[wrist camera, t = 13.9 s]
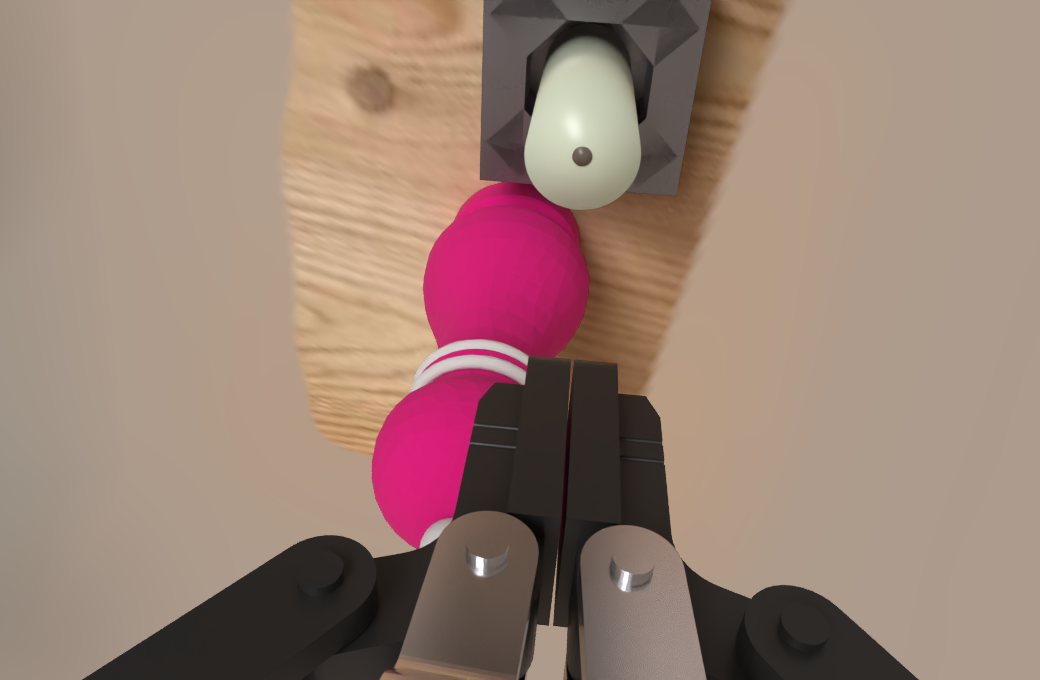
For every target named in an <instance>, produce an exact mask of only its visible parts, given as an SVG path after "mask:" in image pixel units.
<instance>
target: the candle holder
mask: <svg viewBox="0 0 1040 680" xmlns="http://www.w3.org/2000/svg"><path fill="white" fill-rule="evenodd" d="M710 6H711V0H484V14H483V60H482V105H481V151H480V180H489V181H501V182H513V183H525V184H533V183H532V181H531V180H530V177H529V175H528V173H527V169H526V166H525V159H524V151H525V143H526V139H527V135H528V131H529V127H530V123H531V119H532V114H533V110H534V106H535V102H536V98H537V94H538V90H539V86H540V82H541V77H542V73H543V69H544V65H545V61H546V57H547V54H548V51H549V49H550V47H551V45H552V43H553V42H554V41H555V39H556V38H557V37H558V36H559V35H560V34H561V33H563V32H564V31H566V30H567V29H569V28H571V27H573V26H576V25H580V24H586V23H592V24H598V25H602V26H605V27H607V28H609V29H610V30H612V31H614V32H615V33H616V34H617V35H618V36H619V37H620V38H621V39H622V41H623V42H624V44H625V45H626V47H627V50H628V53H629V56H630V62H631V70H632V78H633V87H634V95H635V103H636V112H637V120H638V128H639V137H640V145H641V161H640V166H639V169H638V172H637V175H636V177H635V179H634V181H633V182H632V184H631V185H630V187H629V188H628V189H627V190H626V191H625V192H633V193H645V194H657V195H669V196H677V190H678V184H679V179H680V173H681V168H682V162H683V156H684V151H685V145H686V140H687V134H688V129H689V123H690V117H691V112H692V106H693V101H694V95H695V89H696V84H697V78H698V73H699V67H700V62H701V56H702V50H703V45H704V39H705V34H706V28H707V23H708V17H709V11H710Z"/></svg>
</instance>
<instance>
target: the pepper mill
mask: <svg viewBox="0 0 1040 680" xmlns="http://www.w3.org/2000/svg"><path fill="white" fill-rule="evenodd" d="M423 292H424V302H425V310H426V314H427V318H428V322H429V324H430V326H431V329H432V331H433V334H434V336H435V339H436V342H437V345H438V350H436V351H435V352H433V353H432V354H431V355H430V356H429V357H428V358H427V359H426V360H425V361H424V362H423V363H422V364H421V366H420V367H419V369H418V370H417V372H416V375H415V378H414V381H413V385H412V387H411V389H410V392H409V394H408V395H407V396H406V397H405V398H404V399H403V400H401V401H400V402H399V403H398V404H397V405H396V406H395V407H394V409H393V410H392V411H391V412H390V414H389V415H388V416H387V418H386V420H385V422H384V424H383V426H382V428H381V430H380V432H379V434H378V436H377V439H376V444H375V449H374V454H373V459H372V483H373V488H374V494H375V499H376V501H377V503H378V505H379V508H380V510H381V511H382V514H383V516H384V518H385V520H386V521H387V522H388V524H389V525H390V526H391V527H392V529H393V530H394V531H395V533H397V534H398V535H399V536H400V537H401V538H402V539H404V540H405V541H406V542H407V543H408V544H409V545H411V546H413V547H415V548H416V549H419V548H422V547H424V546H426V545H427V544H429V543H431V542H432V541H434V540H435V539H437V538H438V537H439V536H440V534H441V533H442V531H443V530H444V528H445V527H446V526H447V525H449V524H450V522H451V521H452V519H453V516H454V512H455V508H456V503H457V499H458V494H459V490H460V485H461V480H462V476H463V471H464V466H465V462H466V457H467V452H468V448H469V445H470V438H471V434H472V429H473V427H474V420H475V415H476V411H477V406H478V401H479V400H480V398H481V397H482V396H483V395H484V394H485V393H486V392H487V391H488V390H489V388H490V387H491V386H492V385H493V384H494V383H495V382H499V383H510V384H520V385H525V379H526V371H527V364H528V358H529V356H538V357H549V358H554V357H555V356H556V355H557V354H558V353H559V352H560V351H561V350H562V349H563V348H564V347H565V346H566V344H567V343H568V342H569V341H570V339H571V338H572V336H573V335H574V333H575V332H576V330H577V329H578V327H579V324H580V322H581V320H582V318H583V316H584V312H585V308H586V304H587V299H588V293H589V274H588V270H587V265H586V261H585V258H584V256H583V254H582V252H581V250H580V235H579V230H578V227H577V224H576V221H575V219H574V217H573V215H572V213H571V212H570V211H569V209H568V208H565V207H562V206H559V205H557V204H555V203H553V202H551V201H550V200H548V199H547V198H545V197H544V196H543V195H542V194H541V193H540V192H539V191H538V190H537V189H536V187H535V186H534V185H532V184H525V183H513V182H503V183H498V184H494V185H491V186H488V187H485V188H483V189H481V190H479V191H478V192H476V193H475V194H474V195H472V196H471V197H470V198H469V199H468V200H467V201H466V202H465V203H464V204H463V205H462V207H461V208H460V210H459V212H458V214H457V216H456V218H455V220H454V222H453V223H452V224H451V225H450V226H449V227H448V228H446V229H445V230H444V231H443V232H442V234H441V235H440V236H439V238H438V239H437V241H436V242H435V244H434V246H433V248H432V250H431V252H430V254H429V258H428V262H427V266H426V270H425V275H424V283H423Z"/></svg>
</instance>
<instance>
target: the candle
mask: <svg viewBox="0 0 1040 680" xmlns="http://www.w3.org/2000/svg"><path fill="white" fill-rule="evenodd" d="M524 159H525V166H526V169H527V173H528V175H529V177H530V180H531V181H532V183H533V185H534V186H535V187H536V189H537V190H538V191H539V192H540V193H541V194H542V195H543V196H544V197H545V198H547V199H548V200H550V201H551V202H553V203H555V204H557V205H559V206H562V207H565V208H569V209H575V210H589V209H595V208H599V207H602V206H605V205H607V204H609V203H611V202H613V201H614V200H616V199H617V198H619V197H620V196H621V195H622V194H623V193H624V192H625V191H626V190H627V189H628V188H629V187H630V185H631V184H632V182H633V181H634V179H635V177H636V175H637V172H638V169H639V166H640V161H641V145H640V137H639V128H638V120H637V112H636V103H635V95H634V87H633V78H632V70H631V62H630V56H629V53H628V50H627V47H626V45H625V44H624V42H623V41H622V39H621V38H620V37H619V36H618V35H617V34H616V33H615V32H614V31H612V30H610V29H609V28H607V27H605V26H602V25H598V24H592V23H586V24H580V25H576V26H573V27H571V28H569V29H567V30H566V31H564V32H563V33H561V34H560V35H559V36H558V37H557V38H556V39H555V41H554V42H553V43H552V45H551V47H550V49H549V51H548V54H547V57H546V61H545V65H544V69H543V73H542V77H541V82H540V86H539V90H538V94H537V98H536V102H535V106H534V110H533V114H532V119H531V123H530V127H529V131H528V135H527V139H526V143H525V151H524Z"/></svg>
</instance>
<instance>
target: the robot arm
mask: <svg viewBox="0 0 1040 680" xmlns="http://www.w3.org/2000/svg"><path fill="white" fill-rule="evenodd" d="M570 366H571V360H570V359H559V358H549V357H538V356H529V358H528V364H527V371H526V379H525V385H520V384H510V383H499V382H495V383H494V384H493V385H492V386H491V387H490V388H489V390H488V391H487V392H486V393H485V394H484V395H483V396H482V397H481V398H480V400H479V401H478V406H477V411H476V415H475V420H474V427H473V429H472V434H471V438H470V445H469V448H468V452H467V457H466V462H465V466H464V471H463V476H462V480H461V485H460V490H459V494H458V499H457V503H456V508H455V512H454V516H453V519H452V521H451V522H450V524H449V525H447V526H446V527H445V528H444V530H443V531H442V533H441V534H440V536H439V537H438V538H437V539H435V540H434V541H432V542H431V543H429V544H427V545H426V546H424V547H422V548H419V549H416V550H414V551H410V552H406V553H402V554H396V555H390V556H384V557H378V558H373V557H372V555H371V554H370V552H369V551H368V550H367V549H366V548H365V547H364V546H363V545H361V544H360V543H358V542H356V541H354V540H352V539H349V538H346V537H342V536H334V535H325V536H317V537H313V538H309V539H306V540H304V541H301V542H299V543H297V544H295V545H293V546H291V547H290V548H288V549H287V550H285V551H283V552H282V553H280V554H279V555H277V556H275V557H274V558H272V559H271V560H269V561H268V562H266V563H265V564H263V565H261V566H260V567H258V568H257V569H255V570H254V571H252V572H250V573H249V574H247V575H246V576H244V577H243V578H241V579H239V580H238V581H236V582H235V583H233V584H232V585H230V586H229V587H227V588H225V589H224V590H222V591H221V592H219V593H217V594H216V595H214V596H213V597H212V598H210V599H208V600H207V601H205V602H203V603H202V604H200V605H199V606H197V607H195V608H194V609H192V610H191V611H189V612H188V613H186V614H184V615H183V616H181V617H180V618H178V619H177V620H175V621H174V622H172V623H170V624H169V625H167V626H166V627H164V628H163V629H161V630H160V631H158V632H156V633H155V634H153V635H152V636H150V637H149V638H147V639H146V640H144V641H142V642H141V643H139V644H137V645H136V646H134V647H133V648H131V649H130V650H128V651H126V652H125V653H123V654H122V655H120V656H119V657H117V658H115V659H114V660H113V661H111V662H109V663H108V664H106V665H104V666H103V667H102V668H100V669H98V670H97V671H95V672H94V673H92V674H91V675H89V676H87V677H86V678H84V679H83V680H526V678H527V670H528V669H529V667H530V665H531V662H532V660H533V655H534V646H535V637H536V627H537V624H539V625H548V626H549V618H550V610H551V602H552V592H553V585H554V576H555V568H556V559H557V573H556V590H555V606H554V622H553V626H560V627H568V631H567V654H566V661H565V669H564V676H563V680H918V679H917V678H916V677H915V676H914V675H913V674H912V673H911V672H909V671H908V670H907V669H906V668H905V667H904V666H903V665H902V664H900V663H899V662H898V661H897V660H896V659H895V658H894V657H893V656H891V655H890V654H889V653H888V652H887V651H886V650H885V649H884V648H883V647H882V646H880V645H879V644H878V643H877V642H876V641H875V640H874V639H872V638H871V637H870V636H869V635H868V634H867V633H866V632H865V631H864V630H862V629H861V628H860V627H859V626H858V625H857V624H856V623H855V622H854V621H852V620H851V619H850V618H849V617H848V616H847V615H846V614H844V613H843V612H842V611H841V610H840V609H839V608H838V607H837V606H835V605H834V604H833V603H831V602H830V601H829V600H827V599H826V598H824V597H823V596H821V595H819V594H817V593H815V592H813V591H810V590H807V589H804V588H801V587H796V586H789V585H779V586H772V587H768V588H765V589H763V590H761V591H760V592H758V593H757V594H755V595H754V596H753V597H752V599H750V598H747V597H745V596H742V595H740V594H737V593H734V592H732V591H729V590H727V589H724V588H722V587H719V586H717V585H715V584H712V583H710V582H708V581H707V580H705V579H703V578H702V577H700V576H699V575H698V574H696V573H695V572H694V571H692V570H691V569H690V568H689V567H688V566H687V565H686V564H685V562H684V561H683V560H682V559H681V558H680V555H679V554H678V552H677V551H676V549H675V546H674V544H673V540H672V535H671V526H670V515H669V506H668V495H667V484H666V474H665V465H664V452H663V446H662V432H661V421H660V417H659V415H658V414H657V412H656V411H655V409H654V408H653V406H652V405H651V404H650V402H649V400H648V399H647V397H646V396H637V395H627V394H618V373H617V364H615V363H604V362H593V361H583V360H574V366H573V374H572V383H571V392H570V401H569V410H568V399H569V383H570ZM567 416H568V419H567ZM557 551H558V558H557Z"/></svg>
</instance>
